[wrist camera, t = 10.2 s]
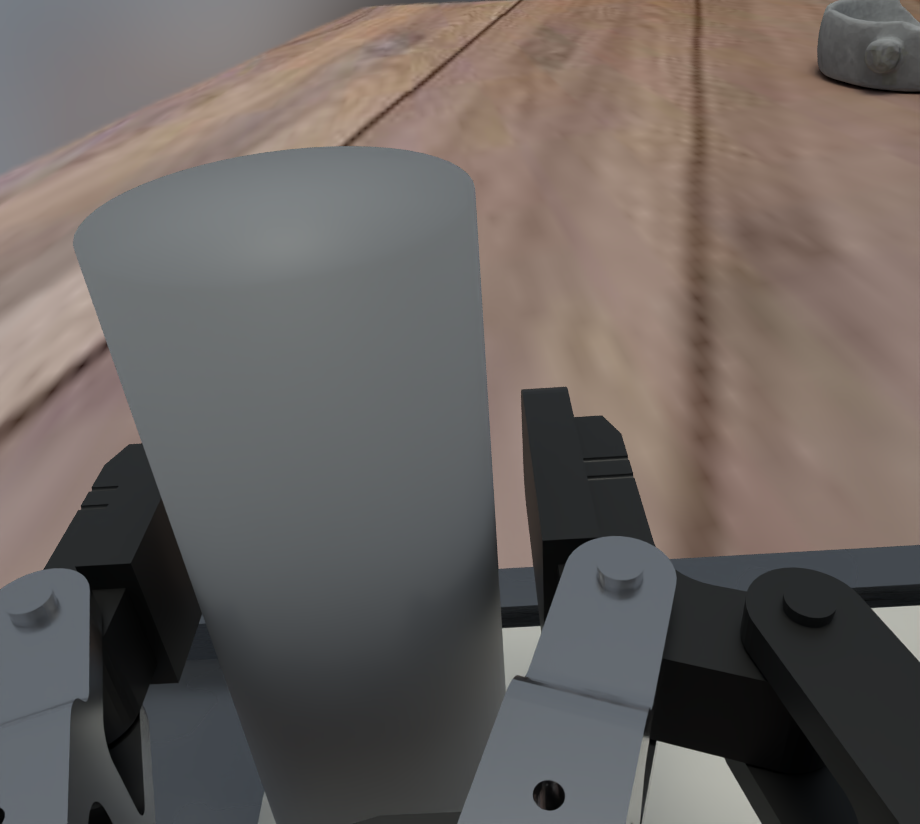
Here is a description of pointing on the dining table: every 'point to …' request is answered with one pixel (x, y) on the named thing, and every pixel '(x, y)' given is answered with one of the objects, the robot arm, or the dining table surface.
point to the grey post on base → (338, 470)
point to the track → (217, 723)
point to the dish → (870, 44)
